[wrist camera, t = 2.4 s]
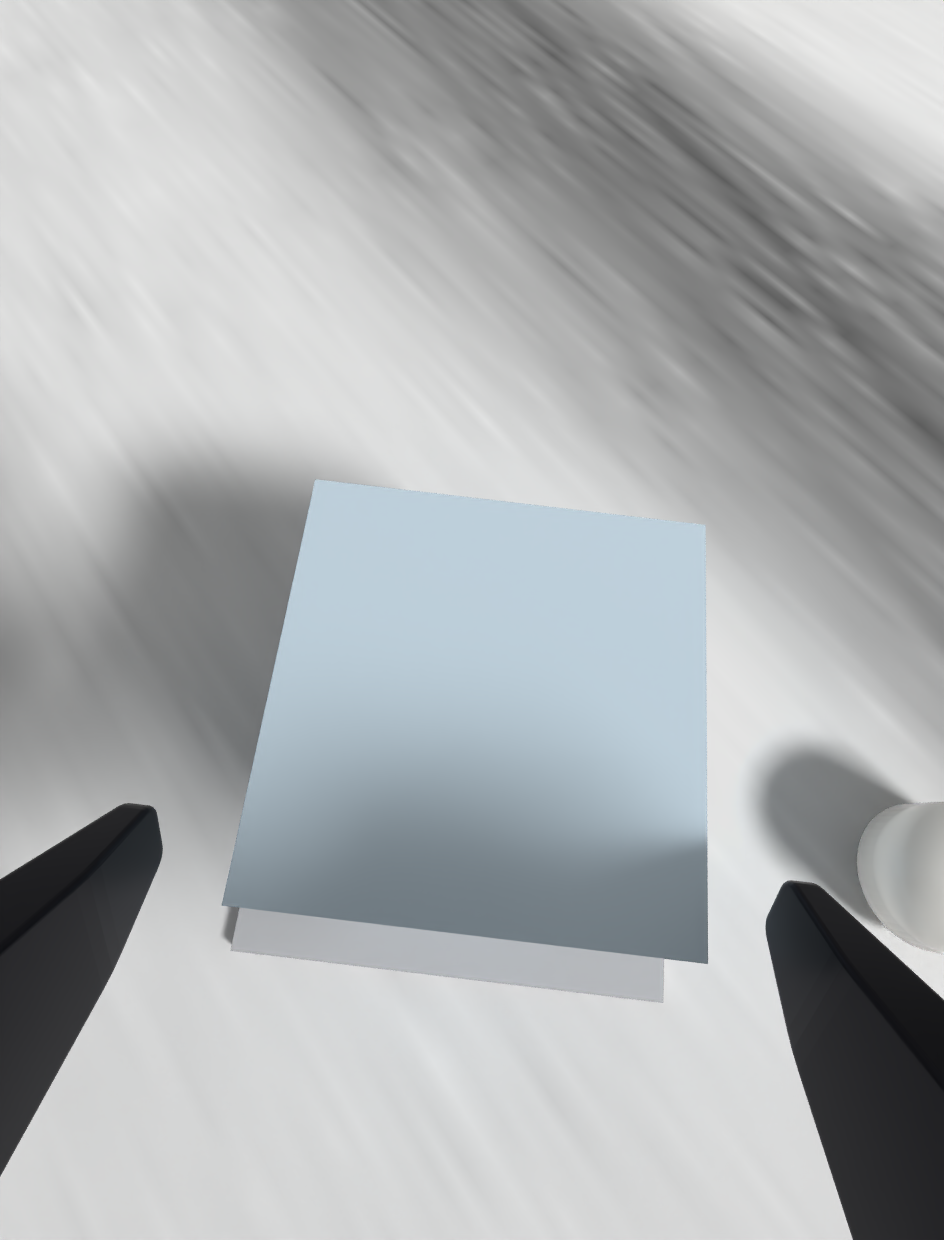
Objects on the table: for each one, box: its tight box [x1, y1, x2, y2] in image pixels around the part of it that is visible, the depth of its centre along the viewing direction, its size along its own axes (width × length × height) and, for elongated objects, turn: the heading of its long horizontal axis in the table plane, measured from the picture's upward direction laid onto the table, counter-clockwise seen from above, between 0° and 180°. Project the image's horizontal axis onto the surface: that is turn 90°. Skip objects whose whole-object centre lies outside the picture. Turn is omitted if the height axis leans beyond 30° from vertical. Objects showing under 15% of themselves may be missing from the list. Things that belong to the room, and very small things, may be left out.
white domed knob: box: [857, 802, 944, 955], centre depth 17 cm, size 4×4×3 cm
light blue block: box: [222, 479, 708, 964], centre depth 15 cm, size 7×7×10 cm
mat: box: [230, 908, 664, 1003], centre depth 19 cm, size 12×12×1 cm
